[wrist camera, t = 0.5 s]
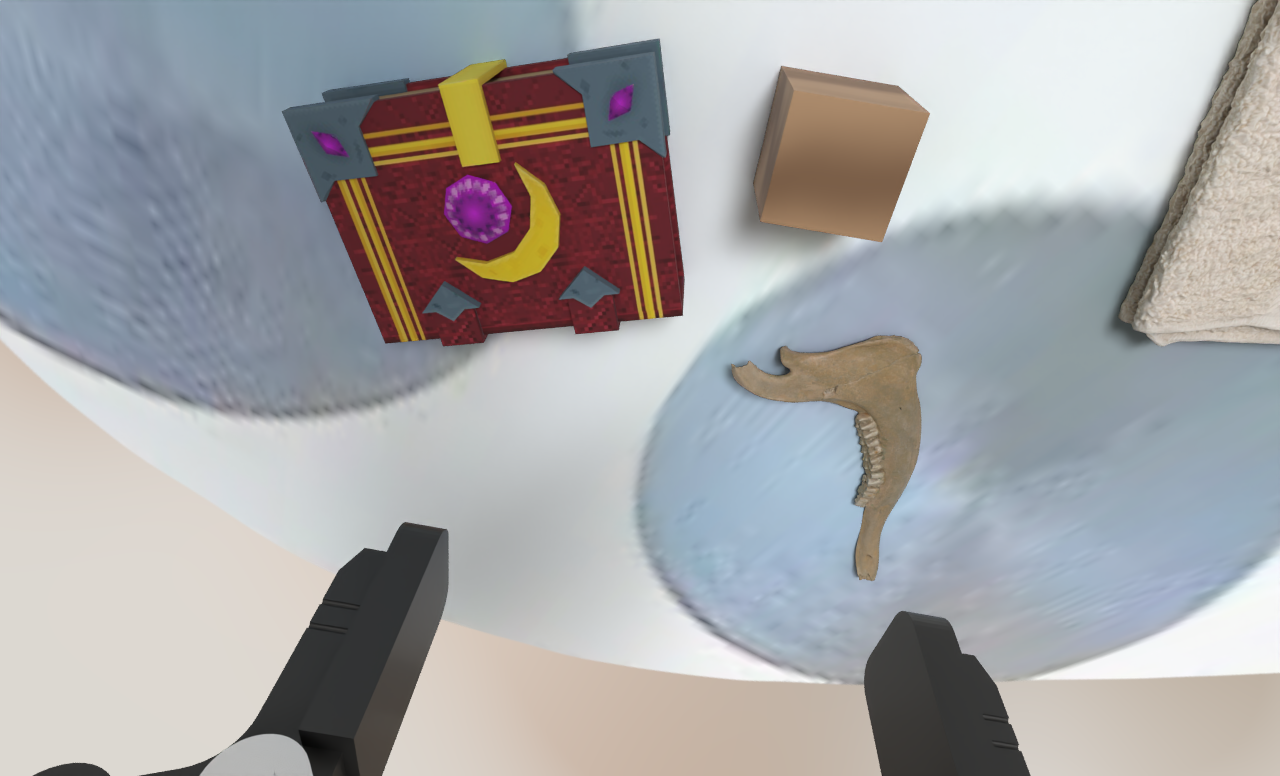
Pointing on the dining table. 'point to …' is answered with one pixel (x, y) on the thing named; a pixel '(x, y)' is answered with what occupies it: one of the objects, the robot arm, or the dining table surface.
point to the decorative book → (504, 195)
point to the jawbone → (860, 417)
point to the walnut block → (836, 153)
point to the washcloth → (1223, 213)
